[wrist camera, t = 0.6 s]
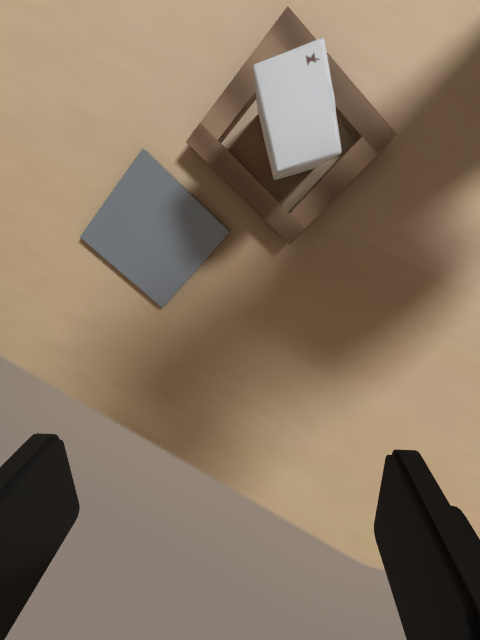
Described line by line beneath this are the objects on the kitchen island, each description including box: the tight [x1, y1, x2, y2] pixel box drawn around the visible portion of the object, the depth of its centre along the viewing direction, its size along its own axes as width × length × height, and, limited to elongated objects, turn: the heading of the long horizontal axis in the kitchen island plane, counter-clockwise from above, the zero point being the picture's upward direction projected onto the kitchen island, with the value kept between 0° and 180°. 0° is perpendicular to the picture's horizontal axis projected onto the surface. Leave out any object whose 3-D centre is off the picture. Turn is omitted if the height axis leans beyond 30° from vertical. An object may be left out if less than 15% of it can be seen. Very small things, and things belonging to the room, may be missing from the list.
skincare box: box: [253, 38, 342, 180], centre depth 25 cm, size 6×4×12 cm
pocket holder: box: [186, 7, 397, 245], centre depth 29 cm, size 12×13×2 cm
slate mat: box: [80, 149, 230, 308], centre depth 34 cm, size 11×11×1 cm
